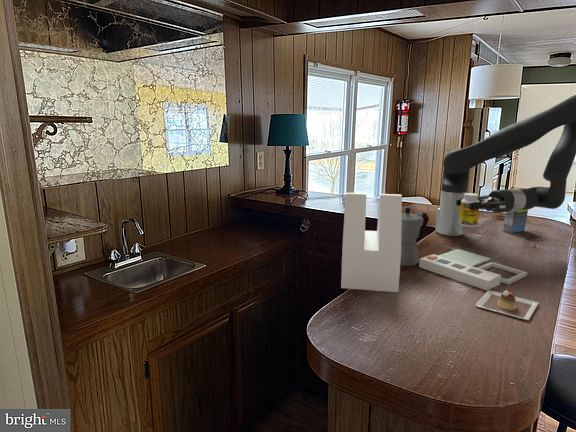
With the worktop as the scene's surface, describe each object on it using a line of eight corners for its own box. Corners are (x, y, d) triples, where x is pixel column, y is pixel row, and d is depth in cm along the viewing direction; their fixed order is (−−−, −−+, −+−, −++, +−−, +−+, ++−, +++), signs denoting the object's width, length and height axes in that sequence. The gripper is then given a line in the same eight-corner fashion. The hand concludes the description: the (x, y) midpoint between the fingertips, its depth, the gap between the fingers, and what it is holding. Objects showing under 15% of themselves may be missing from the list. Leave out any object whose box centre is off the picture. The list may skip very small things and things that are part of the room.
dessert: (538, 306, 105) (541, 289, 104) (528, 324, 96) (531, 305, 95) (488, 293, 113) (490, 277, 112) (474, 309, 104) (476, 291, 103)
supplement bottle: (459, 226, 133) (462, 195, 131) (458, 222, 138) (461, 192, 136) (478, 227, 131) (481, 196, 129) (476, 223, 137) (479, 192, 134)
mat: (437, 257, 139) (437, 255, 139) (457, 250, 146) (457, 248, 146) (470, 267, 130) (470, 266, 130) (490, 259, 137) (490, 258, 137)
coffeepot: (397, 269, 129) (401, 212, 124) (378, 259, 137) (381, 206, 132) (435, 261, 135) (440, 208, 130) (415, 253, 143) (419, 202, 139)
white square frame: (472, 272, 126) (472, 268, 126) (491, 264, 132) (491, 261, 132) (508, 284, 117) (509, 280, 117) (527, 275, 124) (527, 271, 123)
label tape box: (516, 228, 174) (520, 199, 171) (525, 230, 170) (529, 201, 167) (502, 231, 170) (506, 201, 167) (511, 233, 166) (515, 203, 163)
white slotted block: (398, 292, 112) (404, 202, 106) (341, 288, 115) (344, 200, 109) (393, 267, 131) (399, 188, 124) (344, 264, 133) (347, 187, 127)
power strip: (419, 267, 130) (419, 257, 130) (437, 260, 136) (438, 251, 135) (487, 290, 113) (488, 279, 112) (504, 282, 119) (506, 271, 118)
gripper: (491, 185, 143) (449, 188, 138) (525, 193, 129) (480, 197, 125) (489, 207, 145) (447, 210, 140) (522, 216, 131) (478, 221, 127)
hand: (463, 204), depth 132 cm, fingers closed on supplement bottle, 5 cm apart
